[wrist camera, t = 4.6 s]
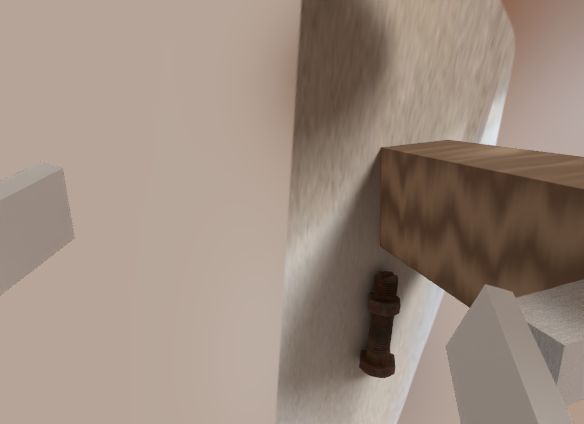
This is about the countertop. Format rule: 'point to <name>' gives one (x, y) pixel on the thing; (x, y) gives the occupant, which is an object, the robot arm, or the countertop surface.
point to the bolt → (381, 326)
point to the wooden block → (484, 216)
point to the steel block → (559, 334)
